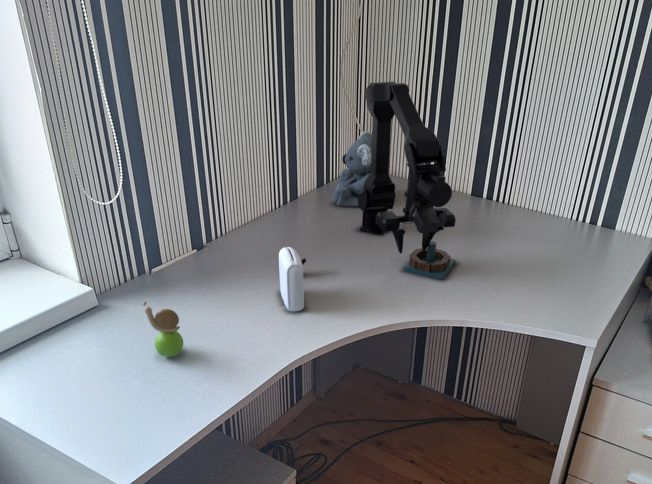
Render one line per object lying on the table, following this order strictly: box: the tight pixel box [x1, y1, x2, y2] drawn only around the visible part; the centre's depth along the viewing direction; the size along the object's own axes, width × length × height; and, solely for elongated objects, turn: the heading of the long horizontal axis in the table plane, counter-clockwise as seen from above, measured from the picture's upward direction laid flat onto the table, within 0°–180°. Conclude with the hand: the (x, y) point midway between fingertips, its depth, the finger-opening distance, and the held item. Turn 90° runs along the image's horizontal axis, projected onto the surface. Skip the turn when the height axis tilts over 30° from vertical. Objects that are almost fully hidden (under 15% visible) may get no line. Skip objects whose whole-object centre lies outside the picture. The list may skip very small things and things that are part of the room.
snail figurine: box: [142, 300, 184, 358], centre depth 133 cm, size 5×6×12 cm
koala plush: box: [331, 129, 372, 208], centre depth 206 cm, size 17×18×20 cm
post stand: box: [403, 240, 456, 281], centre depth 171 cm, size 10×10×7 cm
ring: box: [408, 247, 451, 272], centre depth 172 cm, size 10×10×2 cm
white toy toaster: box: [278, 246, 305, 313], centre depth 153 cm, size 10×4×12 cm, turn 17°
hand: (412, 251), depth 169 cm, fingers open, 6 cm apart
